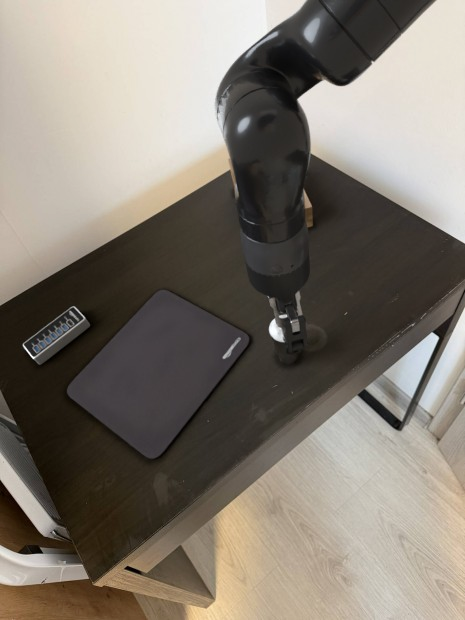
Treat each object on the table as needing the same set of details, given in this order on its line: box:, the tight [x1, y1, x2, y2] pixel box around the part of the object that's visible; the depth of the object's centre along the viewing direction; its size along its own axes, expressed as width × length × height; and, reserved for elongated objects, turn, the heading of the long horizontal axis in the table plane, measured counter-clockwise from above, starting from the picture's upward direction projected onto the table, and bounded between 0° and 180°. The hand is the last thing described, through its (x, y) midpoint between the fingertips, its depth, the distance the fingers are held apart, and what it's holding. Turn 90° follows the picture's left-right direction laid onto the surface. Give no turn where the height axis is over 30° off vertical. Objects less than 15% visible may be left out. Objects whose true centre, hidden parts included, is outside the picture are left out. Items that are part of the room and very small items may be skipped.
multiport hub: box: [22, 305, 91, 365], centre depth 84 cm, size 4×11×2 cm, turn 133°
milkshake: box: [268, 314, 300, 365], centre depth 71 cm, size 4×5×10 cm
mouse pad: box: [66, 289, 250, 460], centre depth 78 cm, size 25×21×1 cm
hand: (285, 325), depth 67 cm, fingers open, 8 cm apart
